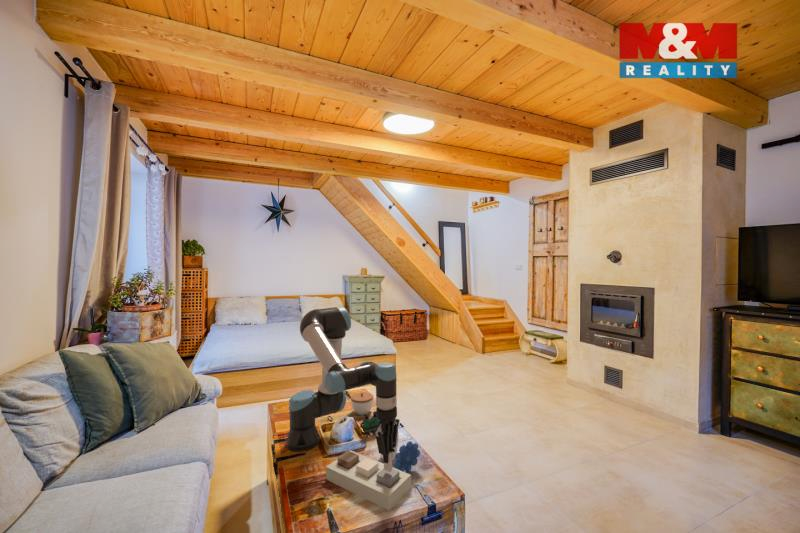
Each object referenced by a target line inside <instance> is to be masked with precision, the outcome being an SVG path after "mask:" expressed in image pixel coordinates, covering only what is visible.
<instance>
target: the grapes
mask: <svg viewBox="0 0 800 533" xmlns="http://www.w3.org/2000/svg"><path fill="white" fill-rule="evenodd" d="M420 455H421V452H420V450H419V444H418V443H417V442H415V443H413V442H412V441H408V442H406V444H405V445H404V444H402V445H400V447H399V452H397V454H396V455H395V459H394V461H395V462H394V464H393V468H395V469H398V470H400V471H403V472H405V473H409V472H411V471H412V467H415V466H416V465H417V464H418V457H420Z"/></svg>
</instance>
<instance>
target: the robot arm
mask: <svg viewBox="0 0 800 533" xmlns="http://www.w3.org/2000/svg"><path fill="white" fill-rule="evenodd" d="M351 320H352V319H351V316H350V313H349V312H348V309H346V308H345V307H343V306H340V307H339V306H335V307H326V308H317V309H315V308H314V309H312V310H310V311H308V312H307V313H305V314H304V315H303V317H302V319H301V320H300V324H299V331H300V332H299V333H300V335H301V337H302V339H303V340H304V341H305V342H307V343H308V345H309V346H310V348H311V349H312V351H313V353H314V355H315V357H316V359H317V360H318V361H319V363H320V365H321V367H322V368H321V369H322V370H321V371H322V372H321V383H320V384H318V387H317V388H318V389H317V391H316V392H315V391H313V390H312V389H311V390H310V389H308V390H300V391H299V392H297V393H295V394H292V395H291V397H290V399H289V403H288V404H289V405H288V410H289V411H288V414H289V431H288V435H287V438H286V441H285V442H286V444H285V445H286V449H288V450H289V451H292V452H305V451H308V450H312V449H313V448H315V447H317V446H318V445H319V444H320V434H319V431H318V428H317V426H316V419H318V418H321V417H325V416H327V415H328V416H329V415H332V414H337V413H339V412H342V410H343V409H344V408H346V407H345V406H346V404H347V395H346V394H347V393H346V391H348V390H352V389H356V388H360V387H363V386H364V387H365V386H368V385H372V386H374V387H375V401H376V402H375V405H376V412H377V418H378V420H379V424H378V427H379V428H378V429H377V431H376V430H375V431H374V433H373V435H374V436H375V440H376V444H377V449H378V454H380V455H381V454H382V455H383V459H382V461H383V462H382V463H383V464H384V470H386V471H389V472H390V471H392V467H393V460H392V452H394V451H395V449H393V448H394V447H396V441H397V432H398V433H399V425H400V421H401V420H400V419H399V418H397V416H398V407H397V405H398V404H397V400H398V399H397V376H398V375H397V369H396V365H395V364H394V363H393V362H387V361H385V362H379V363H376V362H373V361H371V360H370V361H369V360H364V361H363V362H362V363H359V365H357V366H352V367H347V366H346V364H345V362H344V361H343V359H342V346H343V343H342V342H343V339H344V338H345V337H346V333H347V332H348V331H350V330H351V328H352V327H351V326H352V321H351Z"/></svg>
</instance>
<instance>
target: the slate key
mask: <svg viewBox="0 0 800 533" xmlns="http://www.w3.org/2000/svg"><path fill="white" fill-rule="evenodd" d="M399 480H400V477H399V471H397V470H394V469H392V471H390V472H389V471H386V470H384V469H383V470H381V471H380V472H379V473H378V474H377V483H379V484H382V485H384V486H386V487H388V488H391V487H392V486H393V485H394V484H395V483H397V482H398V481H399Z"/></svg>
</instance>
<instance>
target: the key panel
mask: <svg viewBox="0 0 800 533" xmlns="http://www.w3.org/2000/svg"><path fill="white" fill-rule="evenodd" d="M349 451H350V452H353V453H355V454H358V455H359V463H360V462H362V461H363V460H364V459H366V458H367V459H370V460H372V461H375V462H377V463H378V471H377V472H376V473H375V474H374V475H372V476H371V477H370V478H369V479H368V478H366V477H364V476H362V475H359V474H357V473H356V465H358V464H359V463H357V464H356V465H355V466H353V467H352V468H350V469H349V470H348V469H346V468H344V467H341V466H339V465H338V458H337V459H335V460H334V461H331V463H329V464H328V465H326V466H325V480H326V481H329V482H331V483H333V484H335V485H337V486H338V487H341V488H343V489H345V490H347V491H349V492H350V493H353V494H355V495H357V496H359V497H361V498H363V499H365V500H367V501H369V502H371V503H373V504H375V505H377V506H379V507H381V508H383V509H385V510H387V511H391V510H392V508H393V507H395V505H396V504H397V503H398V502H399V501H400V500H401V499H402V498H404V496H405V495H406V494H407V493H408V492H409V491H410V490H411V489H412V475H411V474H410V473H409V472H406V471H404V472H403V471H400V470H398V469H395V467H394V466H392V469H394V470H397V471H399V477H400V480H399V481H398V482H397V483H395V484H394V485H393V486H392V487H391V488H388V487H386V486H384V485H382V484H379V483H377V474H378V473H379V472H380V471H381V470H383V469H384V462H380V461H378V460H375V459H373V458H371V457H369V456H366V455H363V454H360V453H358V452H356V451H354V450H349Z"/></svg>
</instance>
